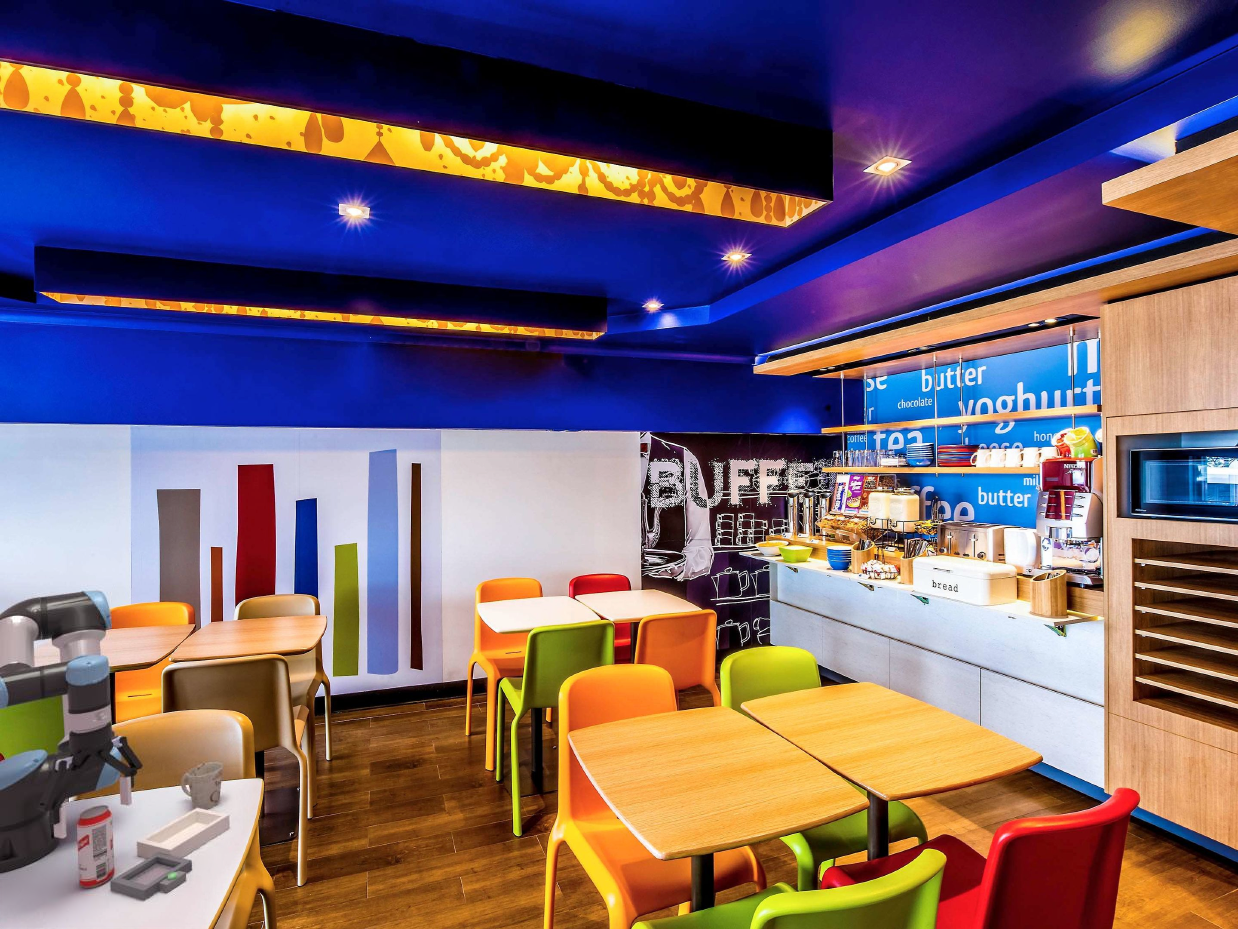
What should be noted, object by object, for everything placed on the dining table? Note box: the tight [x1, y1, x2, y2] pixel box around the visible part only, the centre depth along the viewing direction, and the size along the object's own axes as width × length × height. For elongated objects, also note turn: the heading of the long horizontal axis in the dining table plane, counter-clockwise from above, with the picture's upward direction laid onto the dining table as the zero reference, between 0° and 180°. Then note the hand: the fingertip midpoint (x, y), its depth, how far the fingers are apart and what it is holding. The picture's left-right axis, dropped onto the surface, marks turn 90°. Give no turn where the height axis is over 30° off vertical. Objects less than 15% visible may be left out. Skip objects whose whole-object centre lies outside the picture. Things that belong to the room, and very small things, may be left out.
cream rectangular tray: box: [136, 808, 231, 859], centre depth 162 cm, size 11×15×4 cm
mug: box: [180, 761, 224, 810], centre depth 179 cm, size 8×13×10 cm, turn 78°
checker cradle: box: [109, 852, 193, 901], centre depth 147 cm, size 13×11×2 cm
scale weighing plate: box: [130, 863, 173, 885], centre depth 147 cm, size 7×7×1 cm
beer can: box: [76, 804, 116, 889], centre depth 147 cm, size 6×6×16 cm
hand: (94, 820), depth 147 cm, fingers open, 13 cm apart
